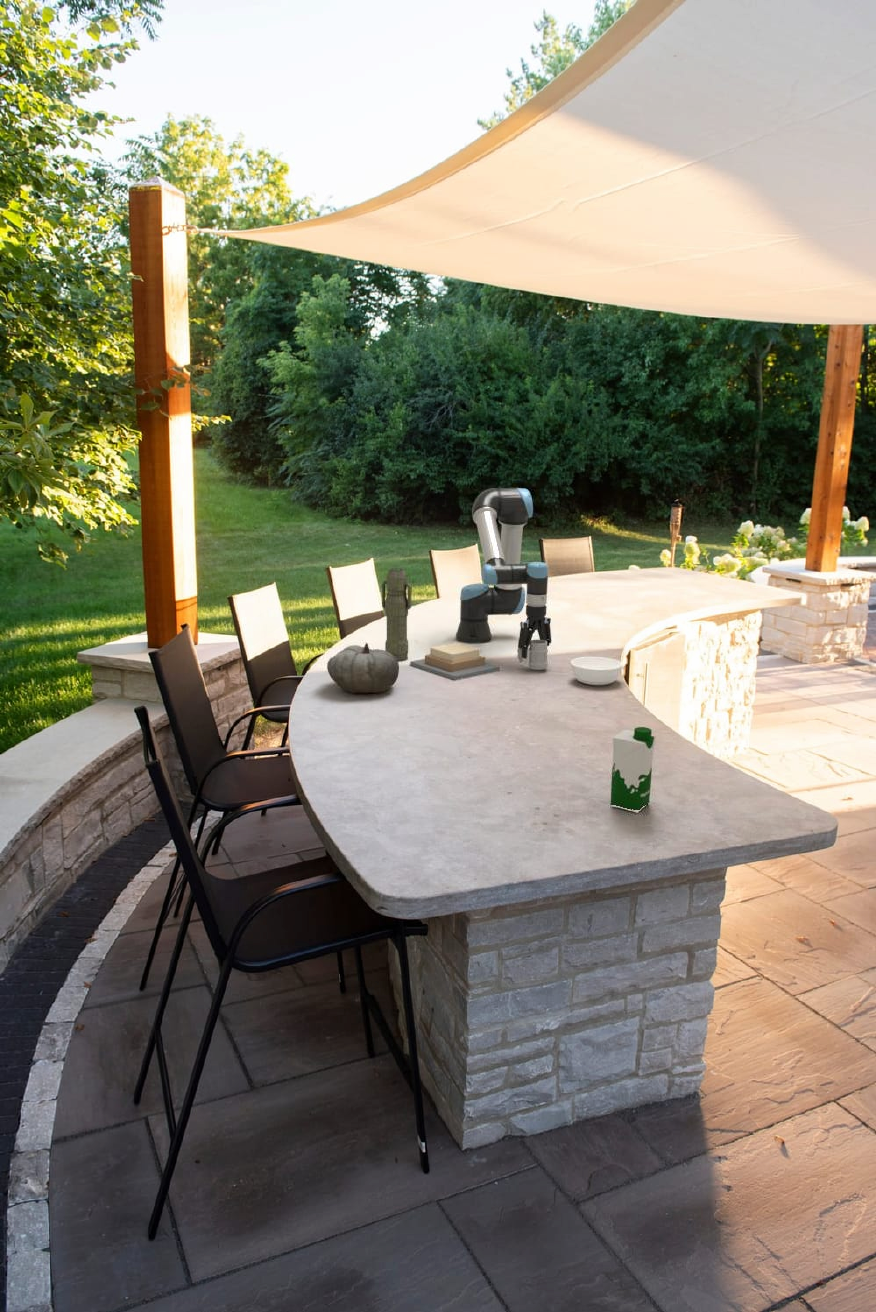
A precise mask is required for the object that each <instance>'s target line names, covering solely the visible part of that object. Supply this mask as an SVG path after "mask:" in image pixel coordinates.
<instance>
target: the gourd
mask: <svg viewBox="0 0 876 1312" xmlns="http://www.w3.org/2000/svg"><path fill="white" fill-rule="evenodd" d="M399 665H400V664H399V662H398V661H397V660H396V658H395V657H394V656H393V655H392V654H391V653H389V652H387V651H385V649H379V648H376V649H374V648H373V649H371V648H370V647H369V643H368V642H365V645H364V646H360V645H357V644H356V645H355V644H354V645H348V646H346V647H345V648H343V649H342V650H340V651H339V652H337V654H335V655H334V656H331V657H330V658H329V659H328V661H327V665H326V668H327V672H328V674H329V677H330V678H331V680H332V681H334V683H335V684H336V685H337V686H339V687H340V688H341V689H342V690H344V691H346V692H348V693H351V694H359V693H362V694H367V693H371V694H374V693H376V694H377V693H379V694H380V693H382V692H384V691H387V690H388V689H391V687H393V686H394V684H395V683H396V682H397V680H398V677H399V673H400V666H399Z"/></svg>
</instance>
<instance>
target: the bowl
mask: <svg viewBox="0 0 876 1312" xmlns="http://www.w3.org/2000/svg"><path fill="white" fill-rule="evenodd" d="M570 669H571V671H572V672H573V675H574V677H575V679H576V680H577V681H579V682H581V683H583V684H585V685H588V686H589V685H590V686H605V685H606V686H607V685H609V684H613V683H614V682H615V681H617V679H618V678H619V675H620V674H621V672H622V670H623V662H621V661H620V660H618V659H614V658H610V657H603V656H581V657H575V658H573V659H572V660H570Z"/></svg>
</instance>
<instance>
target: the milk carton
mask: <svg viewBox="0 0 876 1312" xmlns="http://www.w3.org/2000/svg"><path fill="white" fill-rule="evenodd" d="M612 742H613V743H612V749H613V751H612V765H611V766H612V768H611V785H610V789H611V790H610V806H611V805H616V806H620V807H623V808H627V809H631V810H632V809H633V810H640V809H641V808H642V807H643V806H645V805H647V804H648V803H649V804H650V796H651V788H652V787H651V784H652V771H653V758H654V757H653V756H654V748H655V743H656V734H652V729H651V728H649V727H644V726H638V727H634V730H630V729H624V730H622V731H621V732H619V733H618V734H616V735H615V736H613V737H612ZM647 806H648V805H647Z"/></svg>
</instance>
